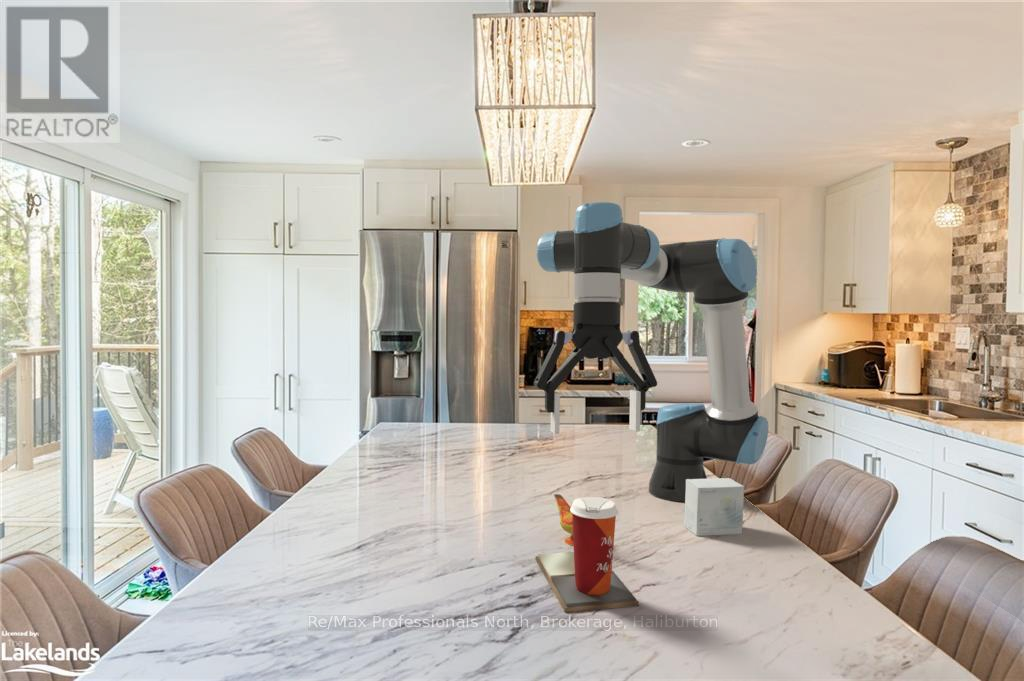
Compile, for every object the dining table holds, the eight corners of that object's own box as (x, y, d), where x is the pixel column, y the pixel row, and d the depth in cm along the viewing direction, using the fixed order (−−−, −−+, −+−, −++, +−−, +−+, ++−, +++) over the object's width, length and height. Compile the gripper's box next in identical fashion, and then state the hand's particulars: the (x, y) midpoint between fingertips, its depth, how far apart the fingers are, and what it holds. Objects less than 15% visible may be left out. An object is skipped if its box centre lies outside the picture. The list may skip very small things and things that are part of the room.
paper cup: (615, 600, 92) (617, 512, 92) (566, 595, 94) (567, 508, 93) (617, 579, 100) (618, 497, 99) (571, 575, 101) (572, 494, 101)
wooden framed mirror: (597, 555, 113) (597, 549, 113) (638, 605, 93) (638, 598, 93) (535, 559, 111) (535, 553, 110) (564, 612, 91) (564, 605, 91)
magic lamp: (569, 522, 131) (570, 472, 130) (610, 553, 114) (611, 496, 114) (540, 525, 128) (541, 475, 128) (578, 557, 112) (579, 499, 111)
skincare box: (697, 537, 123) (698, 487, 123) (683, 526, 129) (684, 478, 129) (743, 534, 125) (745, 485, 124) (728, 524, 131) (729, 477, 131)
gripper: (659, 302, 102) (657, 424, 103) (516, 300, 97) (515, 429, 98) (679, 301, 95) (676, 433, 95) (526, 299, 90) (525, 438, 91)
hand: (595, 431), depth 97 cm, fingers open, 13 cm apart
